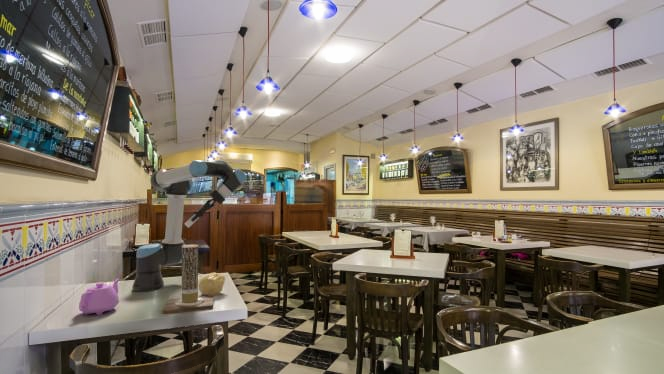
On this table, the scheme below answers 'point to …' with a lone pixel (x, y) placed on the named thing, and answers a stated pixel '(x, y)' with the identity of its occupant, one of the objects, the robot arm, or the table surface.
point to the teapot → (99, 298)
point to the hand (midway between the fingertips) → (187, 224)
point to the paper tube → (189, 273)
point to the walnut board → (188, 305)
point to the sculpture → (211, 284)
